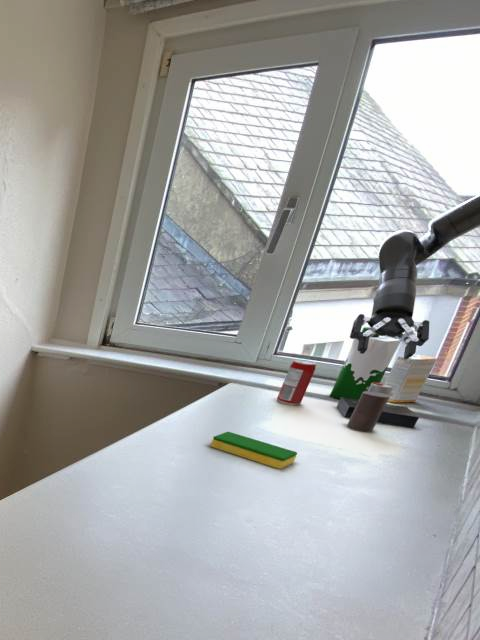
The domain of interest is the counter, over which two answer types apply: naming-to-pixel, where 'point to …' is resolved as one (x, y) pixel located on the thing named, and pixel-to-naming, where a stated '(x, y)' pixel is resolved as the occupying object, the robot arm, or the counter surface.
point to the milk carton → (364, 366)
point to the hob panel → (388, 415)
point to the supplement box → (409, 377)
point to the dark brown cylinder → (368, 411)
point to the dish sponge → (254, 449)
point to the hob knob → (380, 388)
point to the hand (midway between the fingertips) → (385, 354)
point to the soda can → (296, 382)
